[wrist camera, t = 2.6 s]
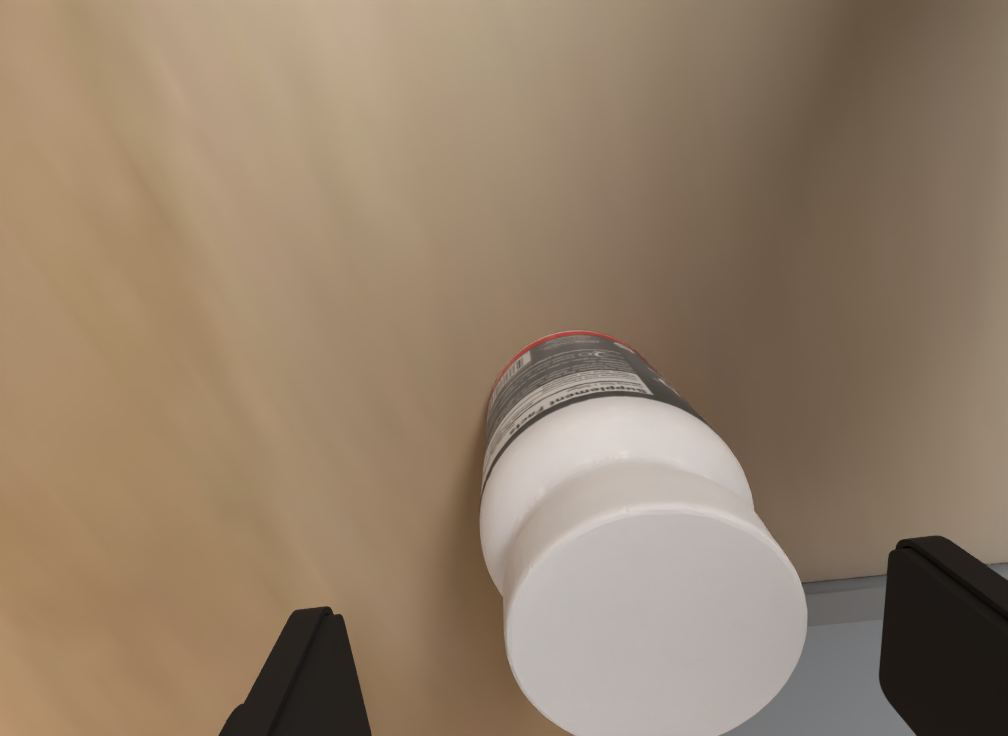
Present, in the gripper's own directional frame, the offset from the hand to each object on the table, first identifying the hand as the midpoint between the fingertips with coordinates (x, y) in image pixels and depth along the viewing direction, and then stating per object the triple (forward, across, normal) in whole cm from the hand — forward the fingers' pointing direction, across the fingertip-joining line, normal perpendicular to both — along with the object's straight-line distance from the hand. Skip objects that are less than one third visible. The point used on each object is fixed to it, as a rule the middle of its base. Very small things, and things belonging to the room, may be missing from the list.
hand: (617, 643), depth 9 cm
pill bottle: (+9, -1, -1) cm, 9 cm away
